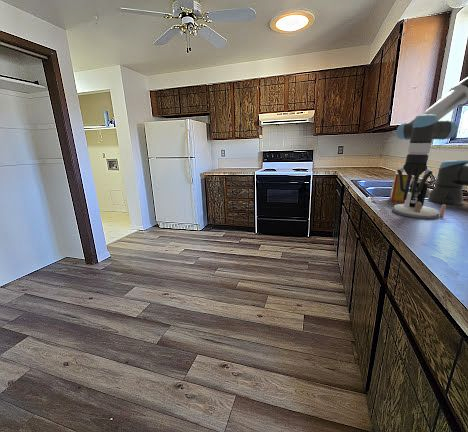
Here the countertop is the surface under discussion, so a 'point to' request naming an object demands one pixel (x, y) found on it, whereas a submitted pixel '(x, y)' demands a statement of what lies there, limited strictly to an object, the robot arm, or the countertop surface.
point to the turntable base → (422, 216)
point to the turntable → (416, 210)
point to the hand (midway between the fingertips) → (406, 206)
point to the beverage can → (418, 194)
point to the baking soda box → (397, 189)
